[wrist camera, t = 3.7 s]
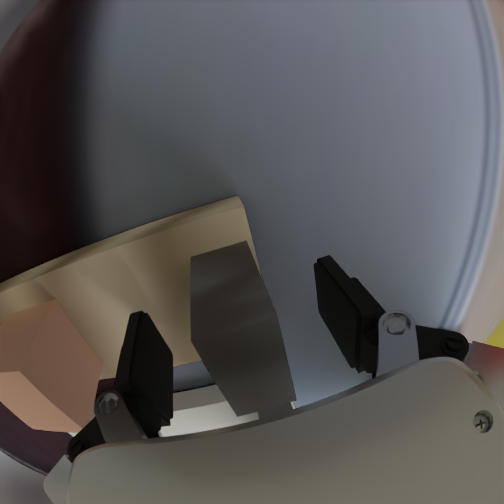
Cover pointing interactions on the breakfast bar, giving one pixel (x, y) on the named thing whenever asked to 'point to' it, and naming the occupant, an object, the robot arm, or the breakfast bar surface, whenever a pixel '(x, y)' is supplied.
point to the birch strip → (174, 299)
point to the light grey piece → (207, 412)
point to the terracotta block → (47, 369)
